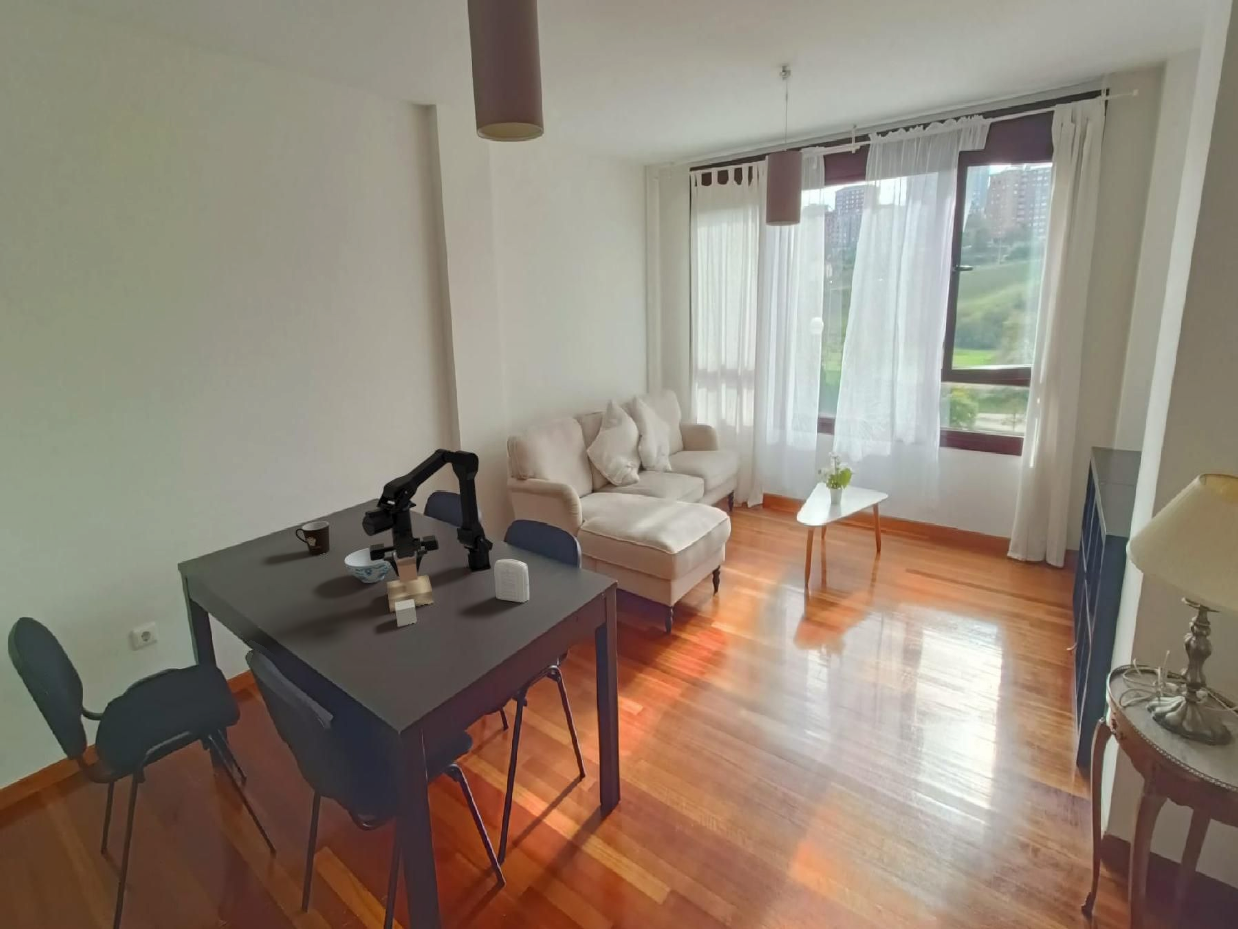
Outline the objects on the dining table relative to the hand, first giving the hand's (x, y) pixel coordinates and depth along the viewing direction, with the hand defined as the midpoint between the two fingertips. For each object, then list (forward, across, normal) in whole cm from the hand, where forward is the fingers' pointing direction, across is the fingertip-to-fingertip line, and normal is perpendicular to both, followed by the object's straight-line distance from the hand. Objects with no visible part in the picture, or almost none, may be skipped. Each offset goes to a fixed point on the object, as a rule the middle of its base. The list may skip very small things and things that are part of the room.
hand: (407, 574), depth 181 cm
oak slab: (+8, 0, 0) cm, 8 cm away
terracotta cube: (+1, 0, 0) cm, 1 cm away
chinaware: (+8, -10, +20) cm, 24 cm away
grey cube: (+8, -2, -13) cm, 15 cm away
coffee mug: (+8, -28, +53) cm, 60 cm away
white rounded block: (+8, +28, -13) cm, 32 cm away
